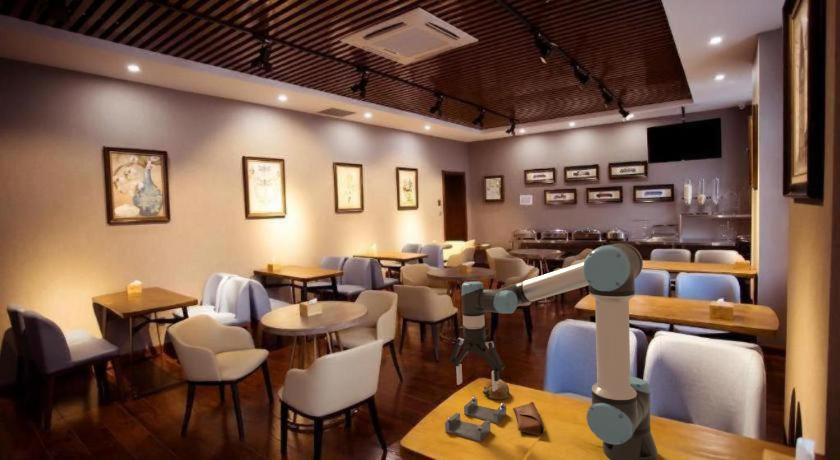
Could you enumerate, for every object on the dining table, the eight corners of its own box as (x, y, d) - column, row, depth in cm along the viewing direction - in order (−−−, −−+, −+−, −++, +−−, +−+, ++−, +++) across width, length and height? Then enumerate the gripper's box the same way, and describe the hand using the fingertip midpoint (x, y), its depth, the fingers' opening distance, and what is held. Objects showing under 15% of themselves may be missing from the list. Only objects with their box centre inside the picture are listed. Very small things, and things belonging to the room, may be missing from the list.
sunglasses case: (511, 406, 163) (522, 393, 163) (526, 418, 163) (537, 404, 163) (517, 430, 146) (530, 415, 145) (535, 443, 145) (547, 428, 145)
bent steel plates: (506, 414, 161) (505, 402, 161) (480, 441, 142) (479, 428, 142) (474, 407, 168) (473, 395, 168) (445, 432, 149) (444, 419, 149)
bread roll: (504, 410, 171) (513, 392, 170) (480, 396, 173) (489, 379, 172) (504, 399, 181) (513, 383, 180) (481, 387, 182) (490, 370, 181)
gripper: (512, 327, 150) (514, 388, 151) (448, 320, 164) (451, 377, 164) (503, 332, 144) (506, 396, 144) (437, 325, 158) (440, 384, 158)
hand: (476, 386), depth 154 cm, fingers open, 13 cm apart
